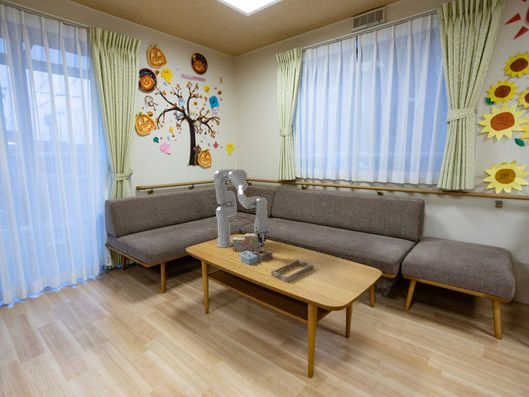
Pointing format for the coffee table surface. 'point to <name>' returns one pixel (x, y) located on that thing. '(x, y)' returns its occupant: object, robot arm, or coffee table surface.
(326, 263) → the coffee table surface
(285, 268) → the rectangular wooden corral frame
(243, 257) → the block
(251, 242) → the stack of blocks
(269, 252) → the square-holed wooden block
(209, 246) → the coffee table surface
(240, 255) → the tray
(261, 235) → the cylinder
